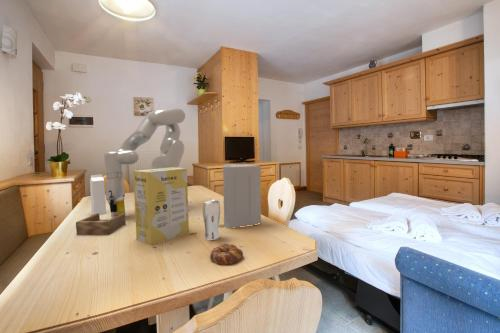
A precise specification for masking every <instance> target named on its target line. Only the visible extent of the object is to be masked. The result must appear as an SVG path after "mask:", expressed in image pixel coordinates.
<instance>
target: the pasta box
mask: <svg viewBox="0 0 500 333" xmlns="http://www.w3.org/2000/svg"><path fill="white" fill-rule="evenodd" d="M132 175H133V176H132V177H133V193H134V194H133V196H134V199H133V200H134V216H135V220H134V221H135V231H136V232H135V235H136V240H137V241H139V242H142V243H145V244H147V245H150V246H153V245H156V244H159V243H162V242H165V241H167V240H170V239H173V238H175V237H179V236H181V235H184V234H187V233H189V232H190V226H189V224H190V223H189V197H188V196H189V193H188V191H189V190H188V168H186V167H185V168H184V167H178V168H175V167H170V168H159V169H152V168H151V169H141V170H140V169H139V170H138V169H137V170H132Z"/></svg>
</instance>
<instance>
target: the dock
mask: <svg viewBox="0 0 500 333" xmlns="http://www.w3.org/2000/svg"><path fill="white" fill-rule="evenodd" d="M75 226H76V227H75V229H76V236H77V235H78V236H80V235H81V236H87V235H88V236H98V235H99V236H102V235H104V236H109V235H111V234H112V233H114V232H116V231H117V230H120V229H121V228H122V227H124V226H126V212H125V213H122V214H120V215H118V216H116V217H114V218H112V217H111V218H110V219H100V214H99V213H96V214H92V215H90V216H89V215H88V216H87V217H84V218H83V219H80V220H78V221H76V222H75Z"/></svg>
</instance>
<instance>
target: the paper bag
mask: <svg viewBox="0 0 500 333" xmlns="http://www.w3.org/2000/svg"><path fill="white" fill-rule="evenodd" d="M261 168H262V167H261V165H255V164H238V163H237V164H236V163H235V164H234V163H229V164H228V163H227V164H223V166H222V183H223V184H222V185H223V186H222V187H223V188H222V189H223V228H224V227H226V228H225V229H227V228H232V229H234V228H233V227H240V226H247V225H255V224H258V223H260V222H261V223H262V202H261V201H262V199H261V198H262V194H261V193H262V191H261V190H262V188H261V186H262V185H261V183H262V182H261V180H262V179H261V176H262V175H261V174H262V173H261V172H262V170H261Z"/></svg>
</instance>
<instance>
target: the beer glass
mask: <svg viewBox="0 0 500 333" xmlns="http://www.w3.org/2000/svg"><path fill="white" fill-rule="evenodd" d="M202 218H203V223H204V240H205V241H211V240H213V241H217V240H219V239H220V233H219V225H220V219H221V206H220V201H219V200H216V199H209V200H205V201H204V200H203V202H202Z"/></svg>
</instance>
